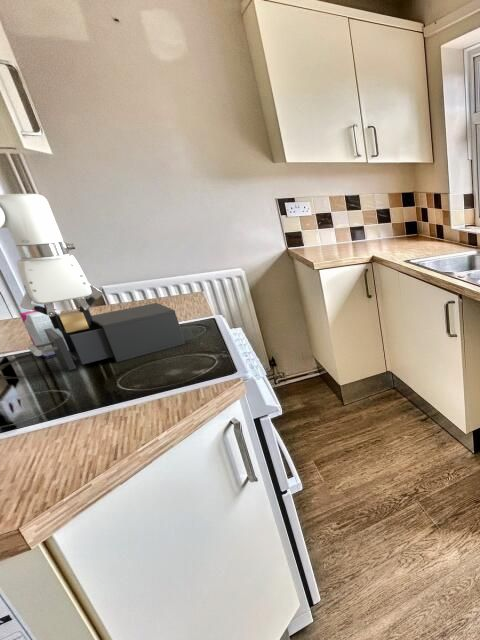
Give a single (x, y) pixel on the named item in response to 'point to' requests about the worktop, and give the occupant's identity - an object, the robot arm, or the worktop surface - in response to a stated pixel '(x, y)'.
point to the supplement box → (40, 329)
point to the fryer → (140, 330)
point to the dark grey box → (76, 346)
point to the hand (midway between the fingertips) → (75, 327)
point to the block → (73, 321)
